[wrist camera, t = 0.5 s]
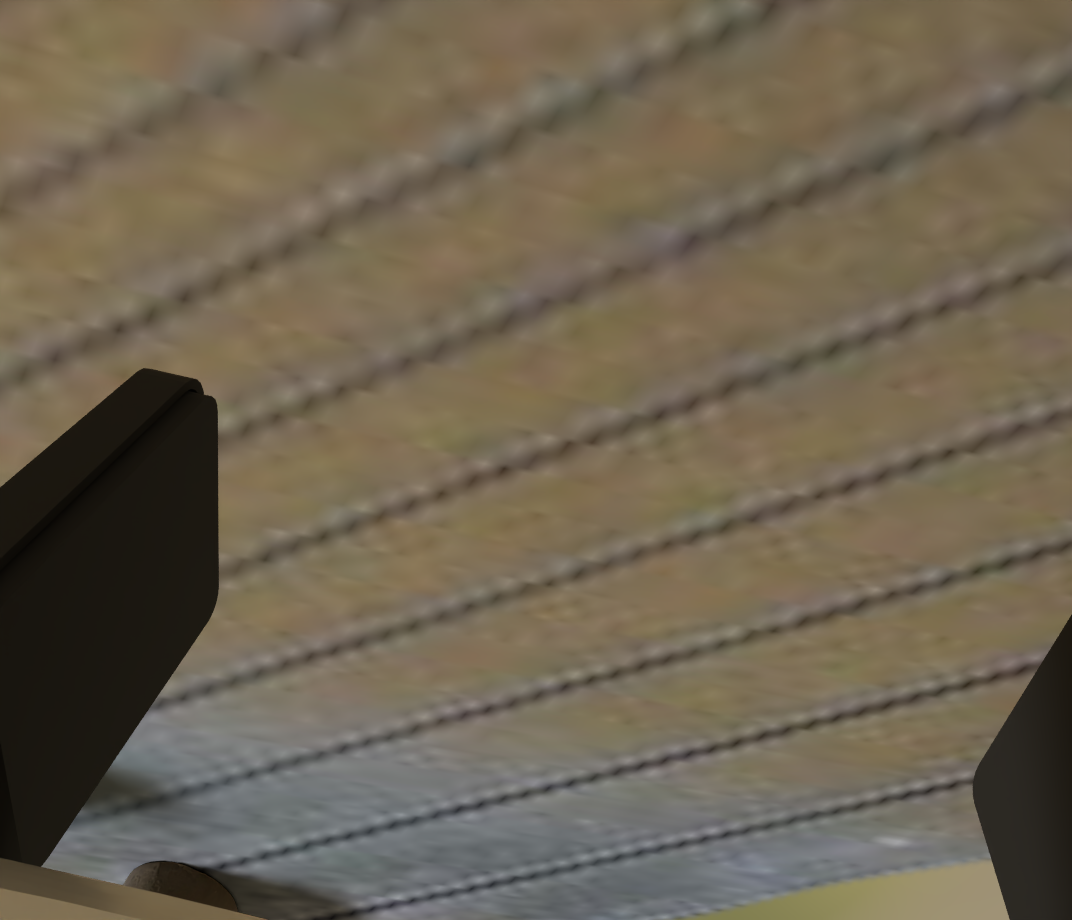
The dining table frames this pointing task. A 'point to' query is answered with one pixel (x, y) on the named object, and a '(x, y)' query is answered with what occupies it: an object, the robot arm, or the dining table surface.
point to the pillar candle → (180, 884)
